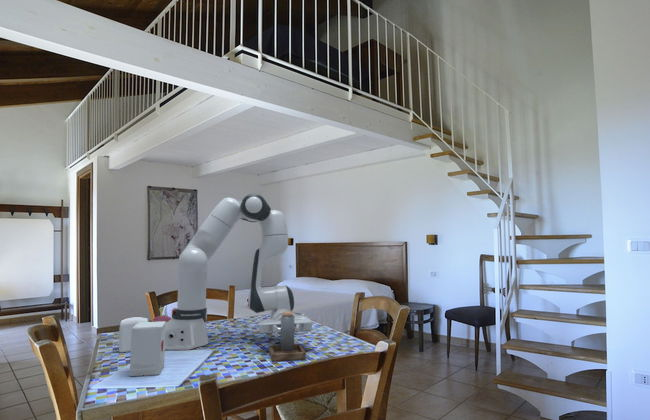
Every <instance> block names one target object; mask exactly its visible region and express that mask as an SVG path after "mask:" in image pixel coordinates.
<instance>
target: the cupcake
mask: <svg viewBox="0 0 650 420" xmlns="http://www.w3.org/2000/svg"><path fill="white" fill-rule="evenodd" d="M159 312H160V313H159V314H160V315H156V317H154V318H153V319H152V320H151V322H160V321H166V323H167V322H168V321H169V320H171V319H172V316H169V315H164V314H163V308H162V305H160V306H159Z"/></svg>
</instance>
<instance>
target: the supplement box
mask: <svg viewBox="0 0 650 420" xmlns="http://www.w3.org/2000/svg"><path fill="white" fill-rule="evenodd" d="M165 331H166V321H160V322H152V321H148V322H139V323H138V324H136V325H135V326H134V327H133V328H132V338H131V351H130V361H129V362H130V364H129V377H143V375H144V376H159V375H160V374H161V373H162V370H163V369H164V368H165V353H166V350H165ZM158 374H159V375H158Z"/></svg>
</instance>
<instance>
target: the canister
mask: <svg viewBox="0 0 650 420" xmlns="http://www.w3.org/2000/svg"><path fill="white" fill-rule="evenodd" d="M293 313H294V312H293V310H292V311H283V315H282V316H281V334H280V345H281V351H293V350H294V344H295V332H294V316H293Z"/></svg>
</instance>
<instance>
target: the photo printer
mask: <svg viewBox="0 0 650 420" xmlns="http://www.w3.org/2000/svg"><path fill="white" fill-rule="evenodd" d="M139 322H149V319H148V318H146V317H139V316H138V317H137V316H136V317H135V316H134V317H127V318H125V319H123V320H120V324H119V329H118V330H119V331H118V333H119V334H118V352H119V353H128V352H130V353H131V338H132V328H133V327H134V326H135V325H136V324H138V323H139Z"/></svg>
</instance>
